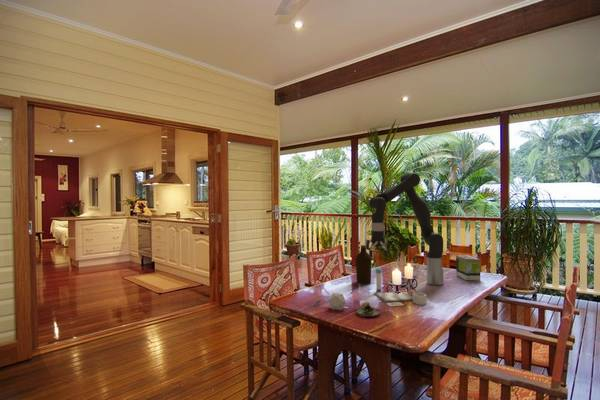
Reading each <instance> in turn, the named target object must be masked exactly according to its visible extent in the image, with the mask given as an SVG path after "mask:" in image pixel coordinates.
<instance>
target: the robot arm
mask: <svg viewBox="0 0 600 400" xmlns="http://www.w3.org/2000/svg"><path fill="white" fill-rule="evenodd" d="M420 177H421V176H420V175H419V174H418V173H417V172H410V173H406V174H404V175H402V176H400V182H399V183H397V184H395V185H392V186H391V187H389V188H387V189H386V190H385V191H383V192H382V193H378V194H377V195H374V196H373V197H371V198H370V200H369V202H368V203H369V204H368V205H369V207H370V208H371V209H374V210H375V212H374V213H372V214H371V226H370V228H371V239H366V240H365V246H366V251H368V254H369V256H370V257H371V258H372V257H373V249H374V248H377V247H379V248H383V256H384V257H387V256H388V250H390V249H391V242H390V239H389V238H386V239H385V224H384V216H385V211H386V207H387V203H390V202H392V201H393V200H394V199H396V198H397V197H398V196H400V195H402V194H404V193H405V194H406V197H407V199H408V201H409V203H410V205H411V208H412V210H413V214H414V215H415V218H416V220H417V222H418V225H419V227H420V230H421V234H422V237H423V240H424V243H425V244H426V245H427V246H429V251H427V252H426V284H428V285H432V286H441V285H444V284H445V283H444V269H443V253H444V238H443V236H442V234H440V233H437V232H435V231H434V229H433V227H432V221H431V211H430V209H429V207H428V204H427V202H426V201H425V200H424V199H423V198H422V197H421V196H420V195H419V194H418V193H417V192H416V190H415V187H417V186H419V184H420V183H421V178H420ZM385 243H386V246H385ZM370 244H371V245H370Z"/></svg>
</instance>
